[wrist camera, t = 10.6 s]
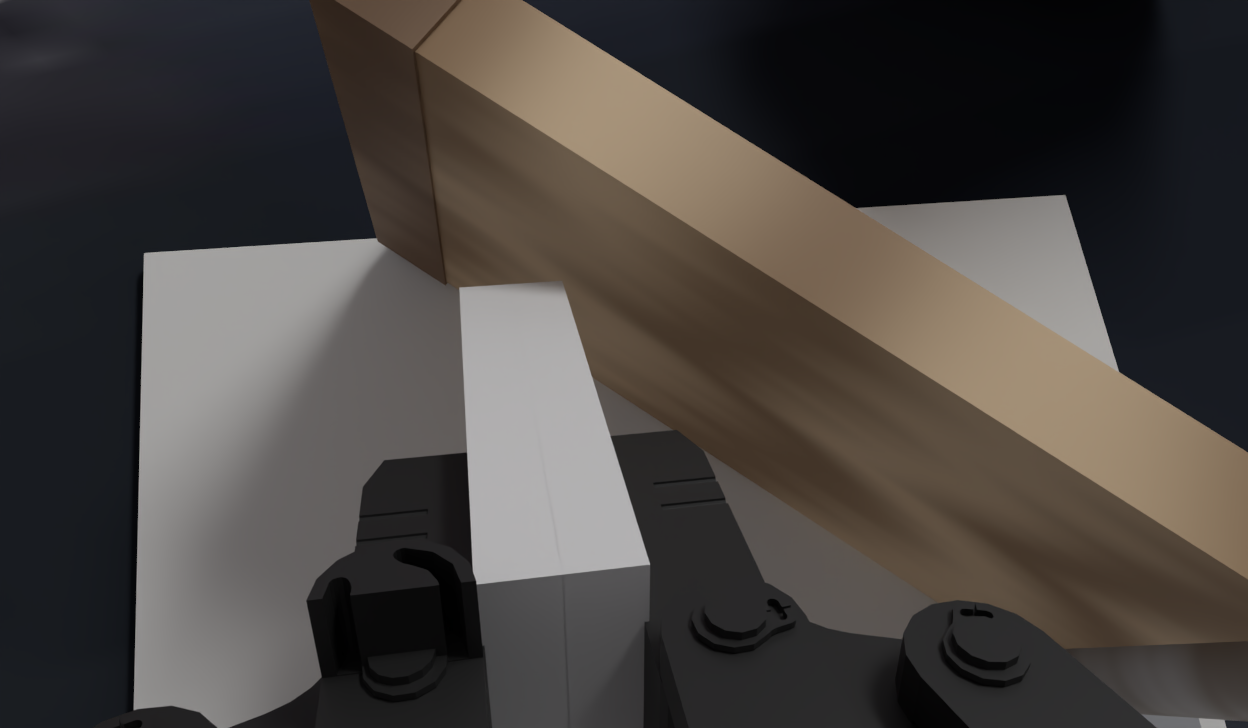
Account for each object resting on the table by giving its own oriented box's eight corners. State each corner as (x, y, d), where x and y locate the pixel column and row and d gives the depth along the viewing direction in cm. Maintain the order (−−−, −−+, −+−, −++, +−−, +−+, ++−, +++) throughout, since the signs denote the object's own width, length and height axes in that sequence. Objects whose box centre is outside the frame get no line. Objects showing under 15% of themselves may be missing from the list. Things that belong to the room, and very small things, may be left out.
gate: (1148, 645, 20) (1624, 625, 11) (1115, 731, 19) (1593, 776, 11) (428, 181, 21) (381, -143, 13) (373, 246, 20) (285, -50, 12)
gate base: (1056, 202, 24) (1071, 189, 23) (1367, 1244, 18) (1401, 1267, 17) (150, 260, 21) (139, 247, 20) (123, 1588, 14) (105, 1632, 13)
